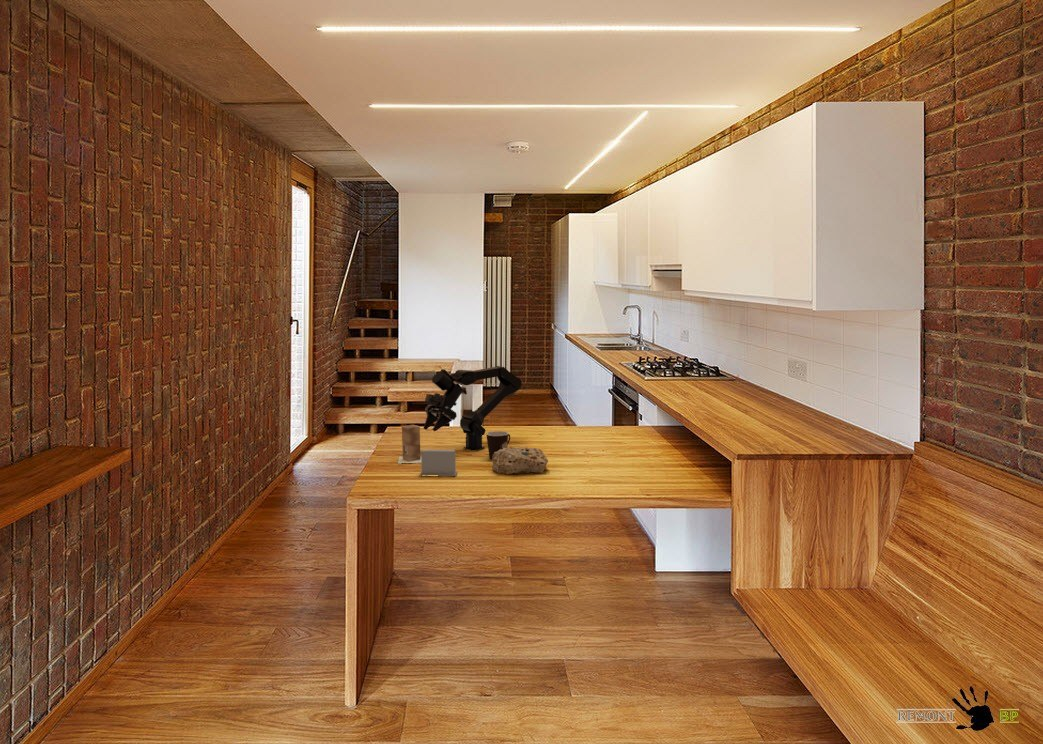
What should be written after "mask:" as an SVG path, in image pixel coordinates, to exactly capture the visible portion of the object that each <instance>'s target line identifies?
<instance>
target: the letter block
mask: <svg viewBox="0 0 1043 744" xmlns="http://www.w3.org/2000/svg"><path fill="white" fill-rule="evenodd" d="M401 440H402V442H401V443H402V444H401V445H402V456H403V459H404V460H406V461H409V462H410V461H415V460H421V457H420V456H421V427H420V426H419V425H415V424H409V425H403V426H402V425H401Z"/></svg>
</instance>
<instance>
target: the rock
mask: <svg viewBox="0 0 1043 744" xmlns="http://www.w3.org/2000/svg"><path fill="white" fill-rule="evenodd" d="M492 457H493V459H492V460H491V463H492V465H491V467H492V468H491V469H492V471H494V472H496V473H497V472H498V474H504V473H506V475H511V474H513V473H514V474H517V473H522V474H529V473H537V474H538V473H541V474H542V473H544V471H545V469H546V467H547V464H548V462H549V459H548V458H547V456H546V454H544V452H543V449H539V448H536V447H526V446H525V447H524V446H517V447H515V446H507V448H503V449H500V450H498V451H497V452H494V454H493V456H492Z"/></svg>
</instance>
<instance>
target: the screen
mask: <svg viewBox="0 0 1043 744" xmlns="http://www.w3.org/2000/svg"><path fill="white" fill-rule="evenodd" d="M420 456H421V463H420V464H421V472H420V473H419V476H420V475H438V476H456V477H457V475H458V474H457V473H458V471H457V469H456V449H421V450H420ZM456 474H457V475H456Z"/></svg>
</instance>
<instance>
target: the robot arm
mask: <svg viewBox="0 0 1043 744" xmlns="http://www.w3.org/2000/svg"><path fill="white" fill-rule="evenodd" d="M491 378H493V379H494V378H497V380H498V381H499V384H498V388H497V389H496V390H495V391H494V392H493V393H492V394H491V395H490V396H489V397H488V398H487V399H485V401H484V402H483V403H482V404H481V405H479V407H477V408H476V410H467V411H466V412H465V414H463V415H461V418H460V420H459V421H460V422H459V427H460V428H461V429H462V432H463V433H464V434H465V446H464V447H463V449H464V448H465V449H464V450H468V449H469V450H468V451H472V450H476V451H478V450H479V449H480V450H483V449H485V448H486V447H485V446H483V436H485V435H486V434H485V433H486V428H484V427H483V425H484V424H483V423H484V420H485V419H486V417H487V416H489V414H490V413H491V412H492V411H494V410H495V408H496V407H497V406H498V405H499V404H500V403H501V402H503V401H504V400H505V398H507V397H508V396H511V395H513V394H515V393H517V392H518V391H519V390H520V389H521V388H522V380H521V378H520V377H518V376H516V375H515V374H513V372H511V371H509V370H508V369H507V368H506V367H505V366H501V365H500V366H499V365H495V366H493V367H488V368H487V367H486V368H482V369H481V368H480V369H476V370H471V369H469V370H468V369H458V370H456V371H455V372H454V373H452V374H450V373H448V371H447V370H446V369H444V368H443V369H442V368H441V369H440V371H438V372H437V373H435V374H434V375H433V376H432V378H431V379H432V380H431V382H432V383H433V384H434V385H435V386H436V387H437V388H439V389H440V390H441V391H442V392H443V391H444V393H443V394H440V393H437V392H435V393H434V394H430V393H426V395H425V397H424V398H425V400H424V402H425V403H429V404H427V405H426V407H425V408H424V410H425V413H426V418H425V422H424V425H423V429H424V430H428V428H430V427H431V426H432V425H433V424H434V425H433V428H432V431H434V432H436V431H438V430H439V429H441V428H443V427H445V425H448V424H449V423H451V422H452V421H455V420H456V418H457V416H458V415H457V412H456V411H454V410H453V407H455V406H457V404H458V403H457V401H458V400H459V398H460V396H461V395H462V394H463V395H467V394H468V391H467V387H466V386H469V385H472V384H475V383H476V382H477V381H480V380H481V381H482V380H485V379H487V380H488V379H491ZM461 385H463V386H461Z"/></svg>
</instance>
